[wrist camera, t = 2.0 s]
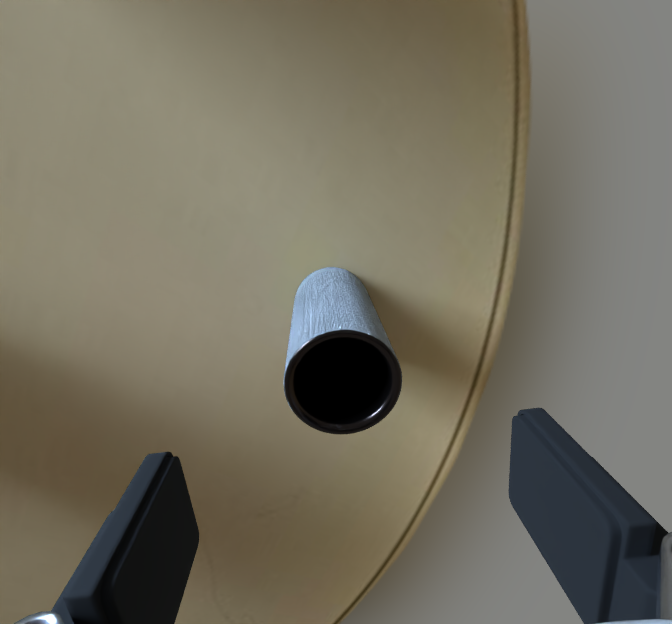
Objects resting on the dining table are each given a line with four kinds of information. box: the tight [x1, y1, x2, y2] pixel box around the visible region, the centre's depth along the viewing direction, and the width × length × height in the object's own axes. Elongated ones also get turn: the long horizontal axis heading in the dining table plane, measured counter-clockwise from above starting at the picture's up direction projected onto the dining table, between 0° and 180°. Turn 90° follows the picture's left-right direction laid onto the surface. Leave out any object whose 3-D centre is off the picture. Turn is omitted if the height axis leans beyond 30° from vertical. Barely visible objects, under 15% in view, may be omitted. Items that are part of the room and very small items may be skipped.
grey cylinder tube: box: [284, 267, 402, 434], centre depth 20 cm, size 4×4×10 cm
